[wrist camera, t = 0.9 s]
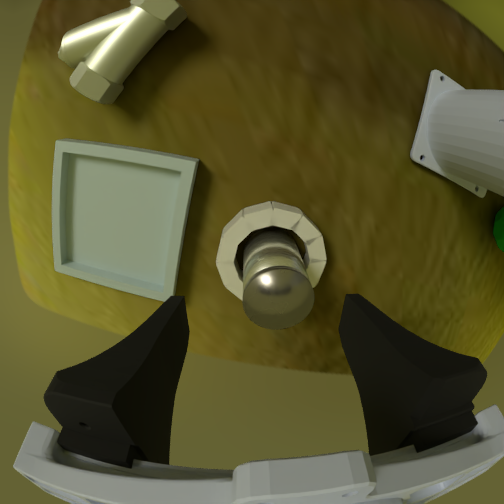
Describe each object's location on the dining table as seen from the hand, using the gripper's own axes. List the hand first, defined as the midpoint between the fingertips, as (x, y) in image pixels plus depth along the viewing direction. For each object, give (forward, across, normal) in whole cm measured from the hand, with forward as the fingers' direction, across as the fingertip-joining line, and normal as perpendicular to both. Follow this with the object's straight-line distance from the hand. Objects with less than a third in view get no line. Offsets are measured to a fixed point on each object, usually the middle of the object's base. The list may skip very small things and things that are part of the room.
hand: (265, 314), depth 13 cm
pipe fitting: (+10, +10, -15) cm, 21 cm away
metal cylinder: (+10, -1, +1) cm, 10 cm away
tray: (+9, +11, -2) cm, 14 cm away
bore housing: (+9, -1, +1) cm, 10 cm away
